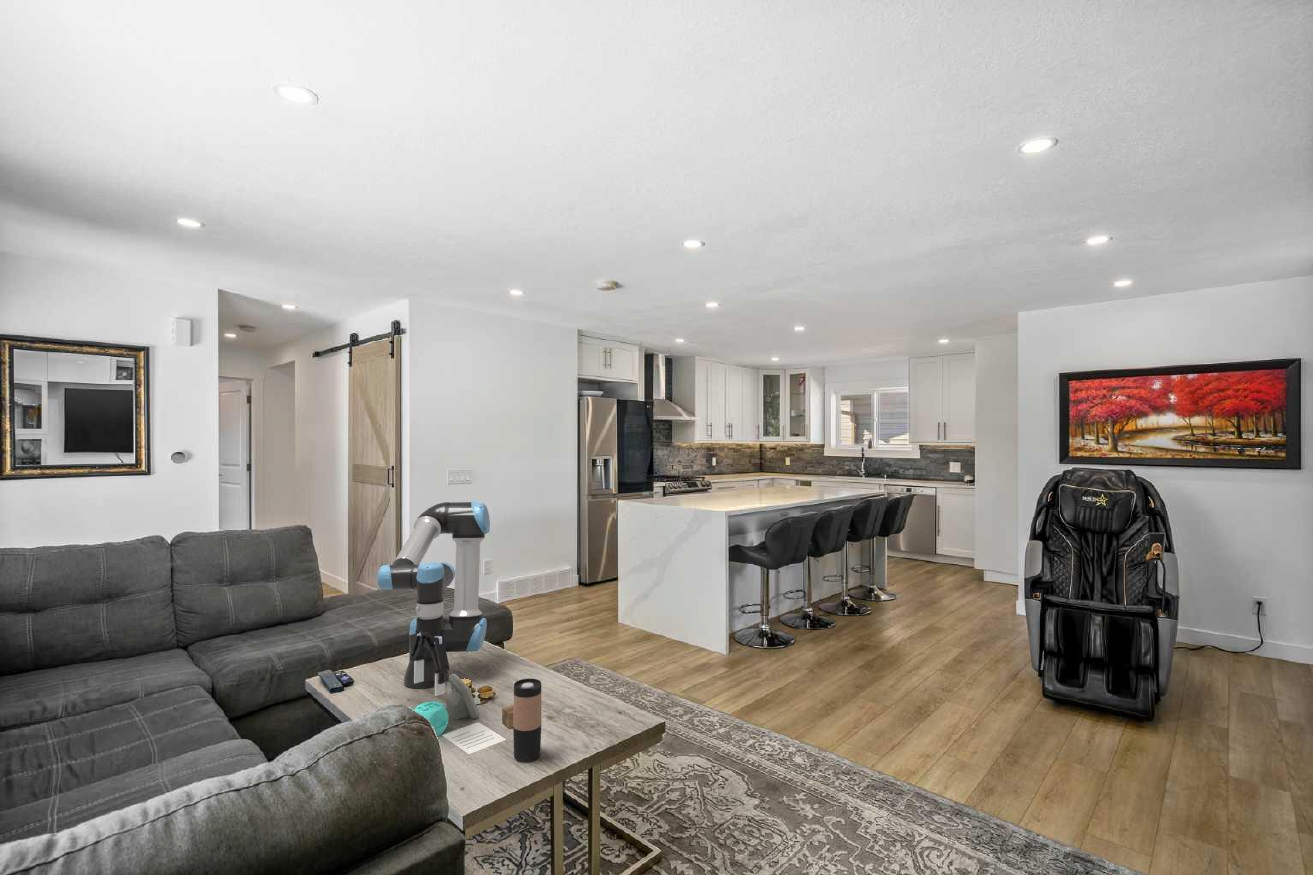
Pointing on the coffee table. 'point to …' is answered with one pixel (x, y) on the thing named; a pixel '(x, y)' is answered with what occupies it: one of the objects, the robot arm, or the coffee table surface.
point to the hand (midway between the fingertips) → (429, 688)
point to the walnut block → (507, 716)
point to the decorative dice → (434, 715)
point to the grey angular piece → (460, 700)
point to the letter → (473, 737)
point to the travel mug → (527, 720)
